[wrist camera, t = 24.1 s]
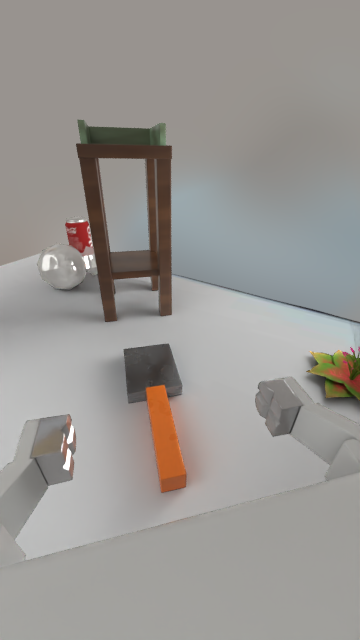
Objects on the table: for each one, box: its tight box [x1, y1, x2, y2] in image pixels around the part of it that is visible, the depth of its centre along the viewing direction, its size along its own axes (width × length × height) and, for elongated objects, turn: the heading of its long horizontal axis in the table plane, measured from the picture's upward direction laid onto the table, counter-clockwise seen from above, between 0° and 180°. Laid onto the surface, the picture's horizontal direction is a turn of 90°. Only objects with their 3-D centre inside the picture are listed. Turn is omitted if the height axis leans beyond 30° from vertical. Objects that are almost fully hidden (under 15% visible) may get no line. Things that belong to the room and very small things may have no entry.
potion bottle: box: [37, 243, 98, 290], centre depth 58 cm, size 9×10×15 cm
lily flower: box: [306, 347, 360, 401], centre depth 34 cm, size 12×12×5 cm
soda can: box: [65, 217, 93, 253], centre depth 65 cm, size 5×5×12 cm
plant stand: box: [76, 120, 172, 322], centre depth 45 cm, size 13×12×28 cm
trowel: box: [124, 344, 186, 493], centre depth 31 cm, size 19×6×2 cm, turn 13°
